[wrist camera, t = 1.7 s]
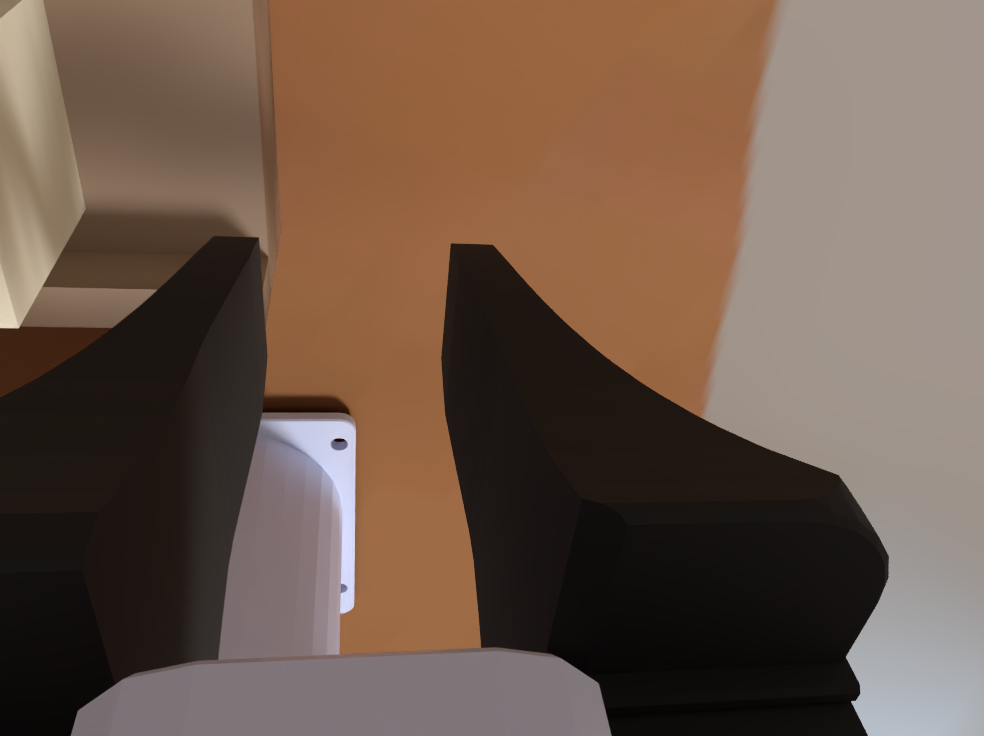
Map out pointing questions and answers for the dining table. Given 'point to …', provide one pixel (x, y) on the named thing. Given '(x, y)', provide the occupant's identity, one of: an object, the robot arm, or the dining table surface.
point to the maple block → (32, 160)
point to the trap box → (160, 147)
